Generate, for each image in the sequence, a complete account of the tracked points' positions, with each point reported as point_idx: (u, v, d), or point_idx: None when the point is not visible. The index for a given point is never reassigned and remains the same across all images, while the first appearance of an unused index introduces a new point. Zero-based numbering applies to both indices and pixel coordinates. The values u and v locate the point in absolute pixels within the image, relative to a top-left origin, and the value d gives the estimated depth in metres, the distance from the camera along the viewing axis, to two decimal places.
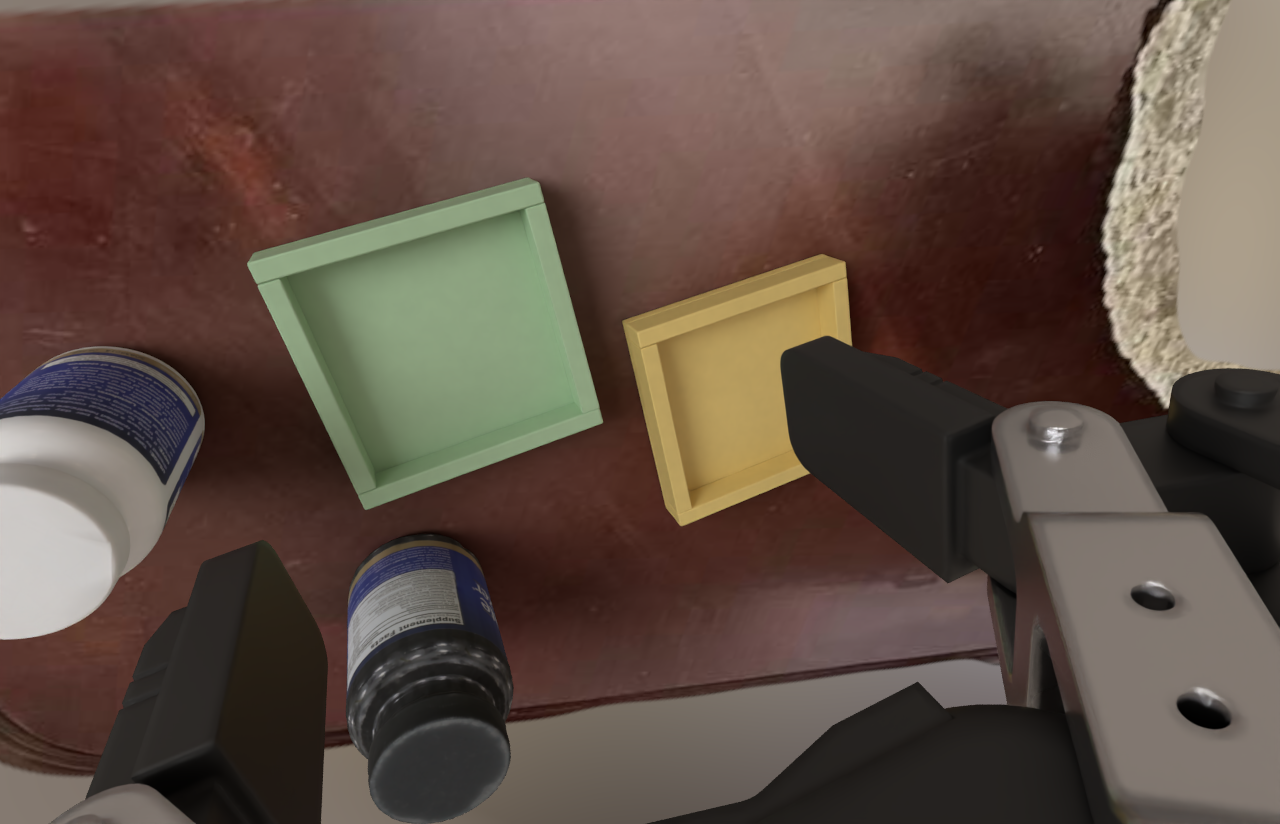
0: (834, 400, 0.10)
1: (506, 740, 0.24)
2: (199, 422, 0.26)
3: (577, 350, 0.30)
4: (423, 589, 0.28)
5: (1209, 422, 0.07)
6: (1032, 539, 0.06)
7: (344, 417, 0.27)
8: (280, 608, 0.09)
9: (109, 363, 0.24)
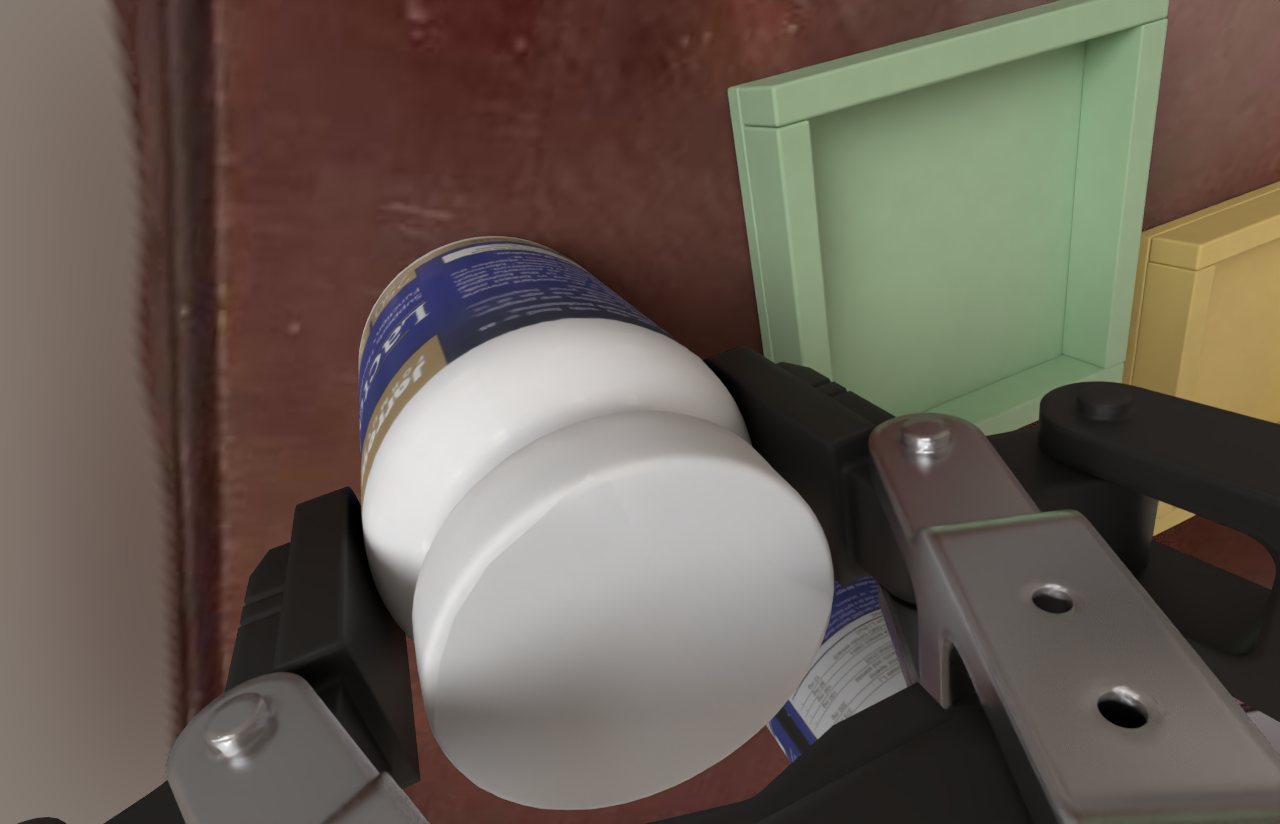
0: (743, 409, 0.10)
1: None
2: None
3: (1129, 269, 0.19)
4: None
5: (1068, 434, 0.07)
6: (932, 556, 0.06)
7: (830, 366, 0.17)
8: None
9: (552, 256, 0.13)
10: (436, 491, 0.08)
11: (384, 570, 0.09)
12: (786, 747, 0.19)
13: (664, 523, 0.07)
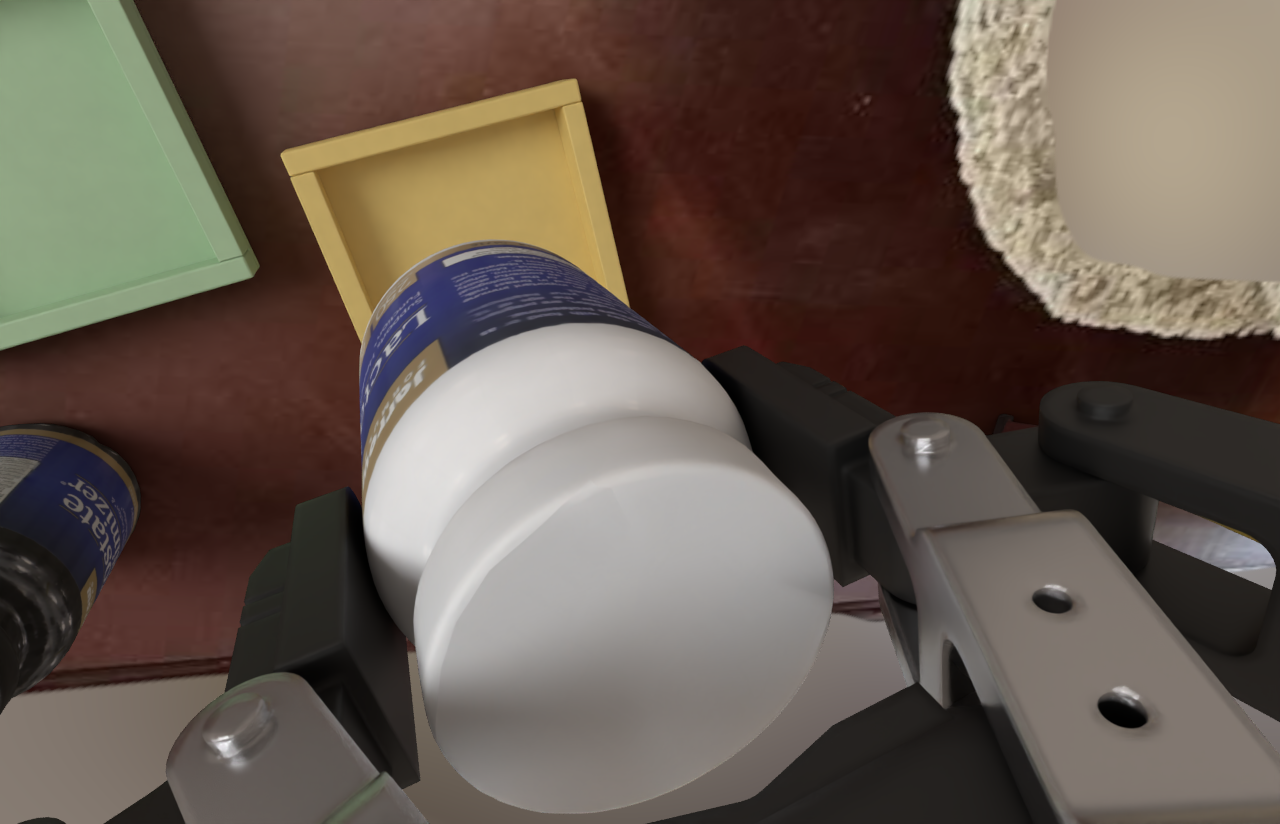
0: (744, 408, 0.10)
1: None
2: None
3: (191, 171, 0.23)
4: None
5: (1068, 433, 0.07)
6: (932, 555, 0.06)
7: None
8: None
9: (551, 260, 0.13)
10: (438, 496, 0.08)
11: (386, 574, 0.09)
12: None
13: (665, 530, 0.07)
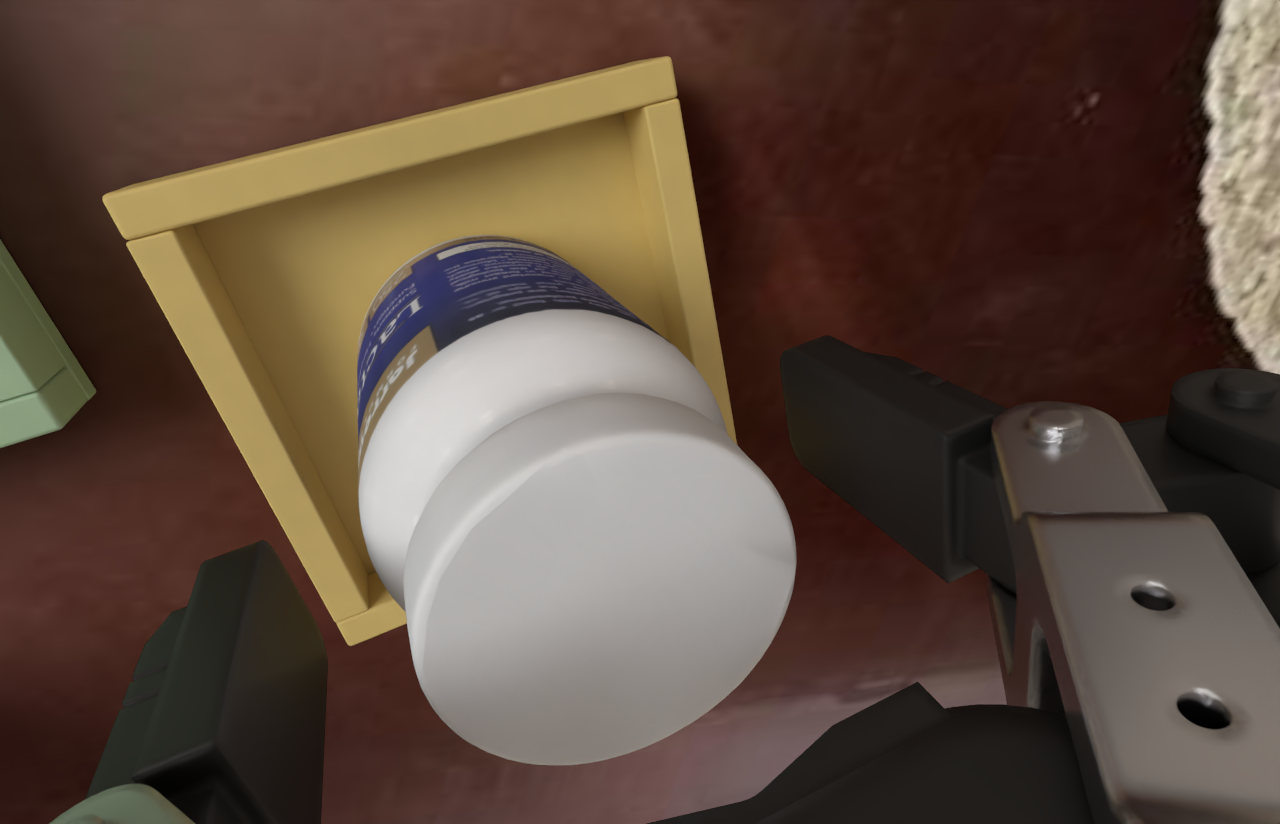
0: (834, 400, 0.10)
1: None
2: None
3: None
4: None
5: (1209, 422, 0.07)
6: (1034, 539, 0.06)
7: None
8: (280, 608, 0.09)
9: (541, 254, 0.14)
10: (427, 469, 0.09)
11: (379, 543, 0.09)
12: None
13: (634, 494, 0.07)
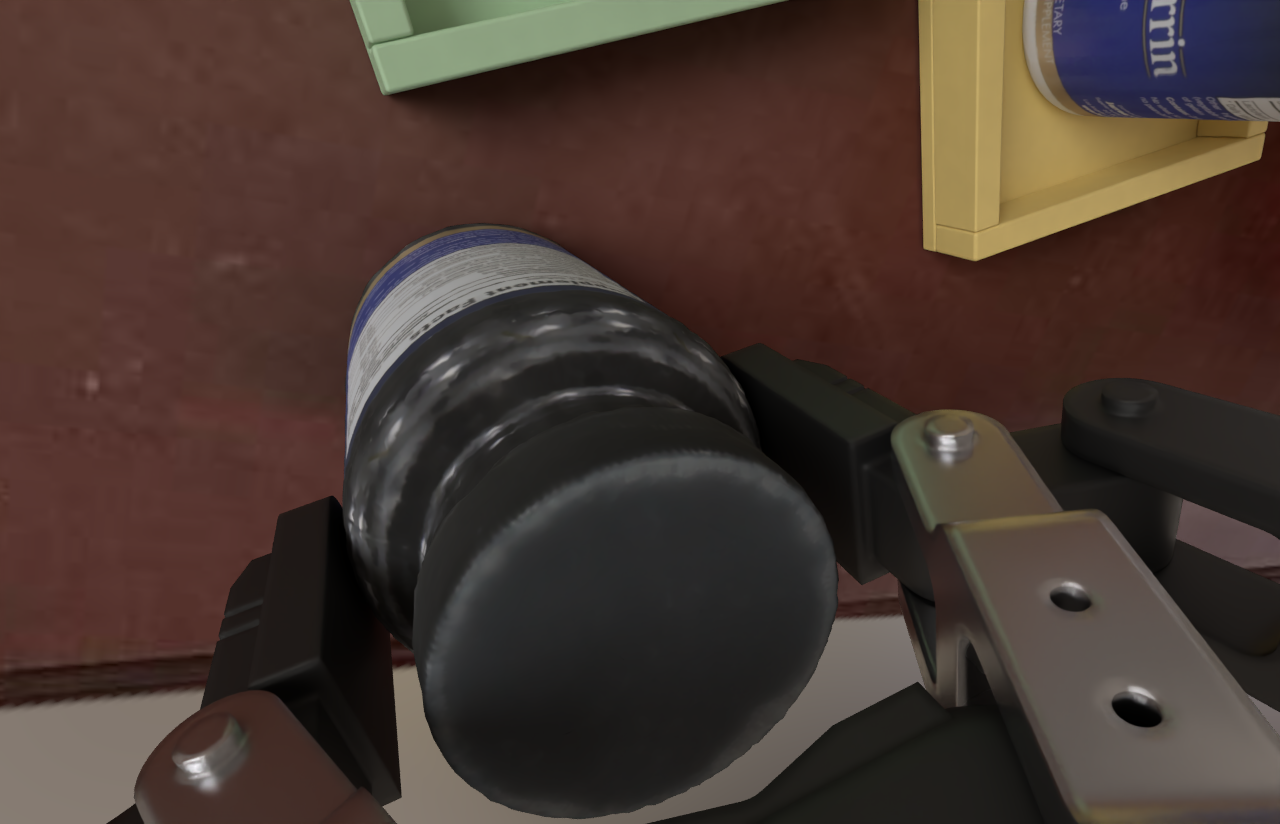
0: (760, 406, 0.10)
1: None
2: None
3: None
4: (530, 257, 0.12)
5: (1093, 430, 0.07)
6: (950, 551, 0.06)
7: None
8: None
9: None
10: None
11: None
12: None
13: None
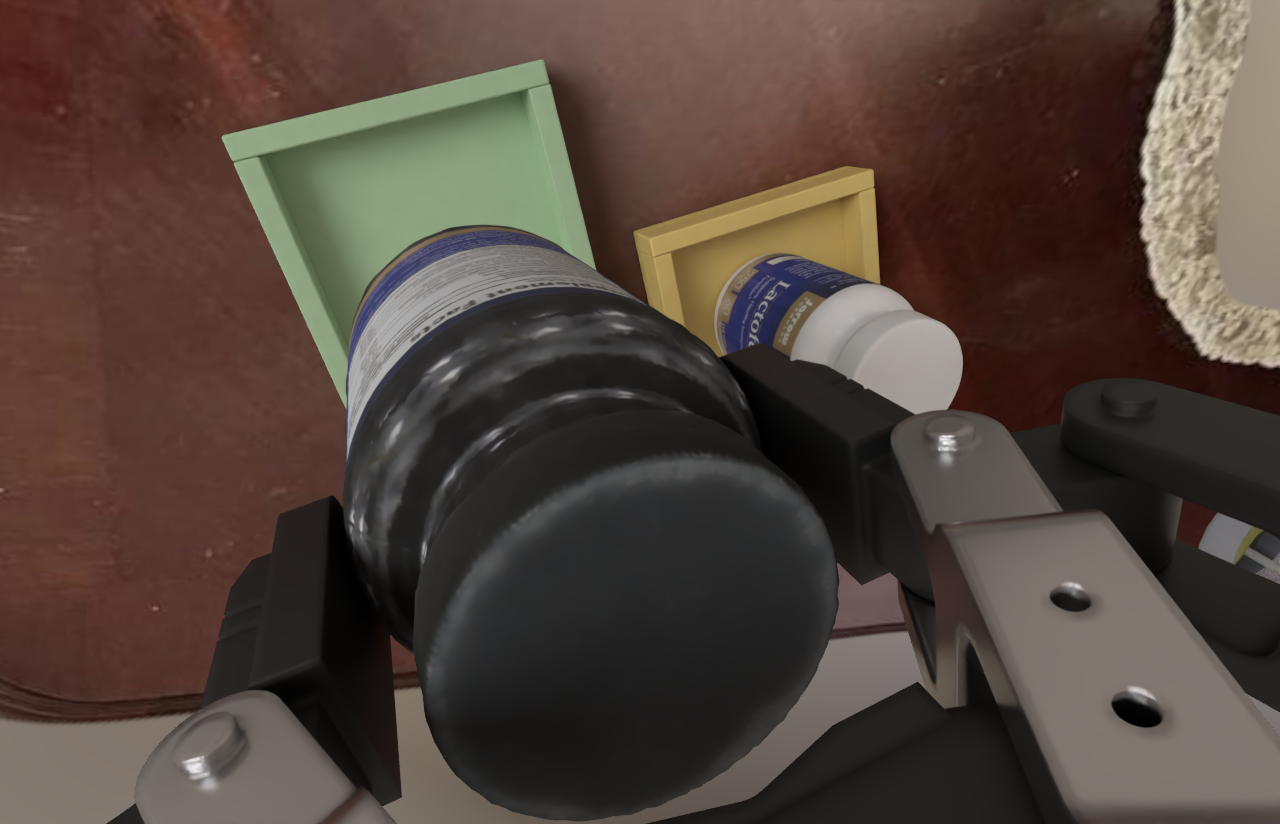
0: (760, 406, 0.10)
1: (836, 564, 0.08)
2: None
3: (585, 255, 0.27)
4: (530, 258, 0.12)
5: (1093, 430, 0.07)
6: (950, 551, 0.06)
7: (331, 321, 0.25)
8: None
9: None
10: (830, 339, 0.25)
11: None
12: None
13: (919, 339, 0.24)
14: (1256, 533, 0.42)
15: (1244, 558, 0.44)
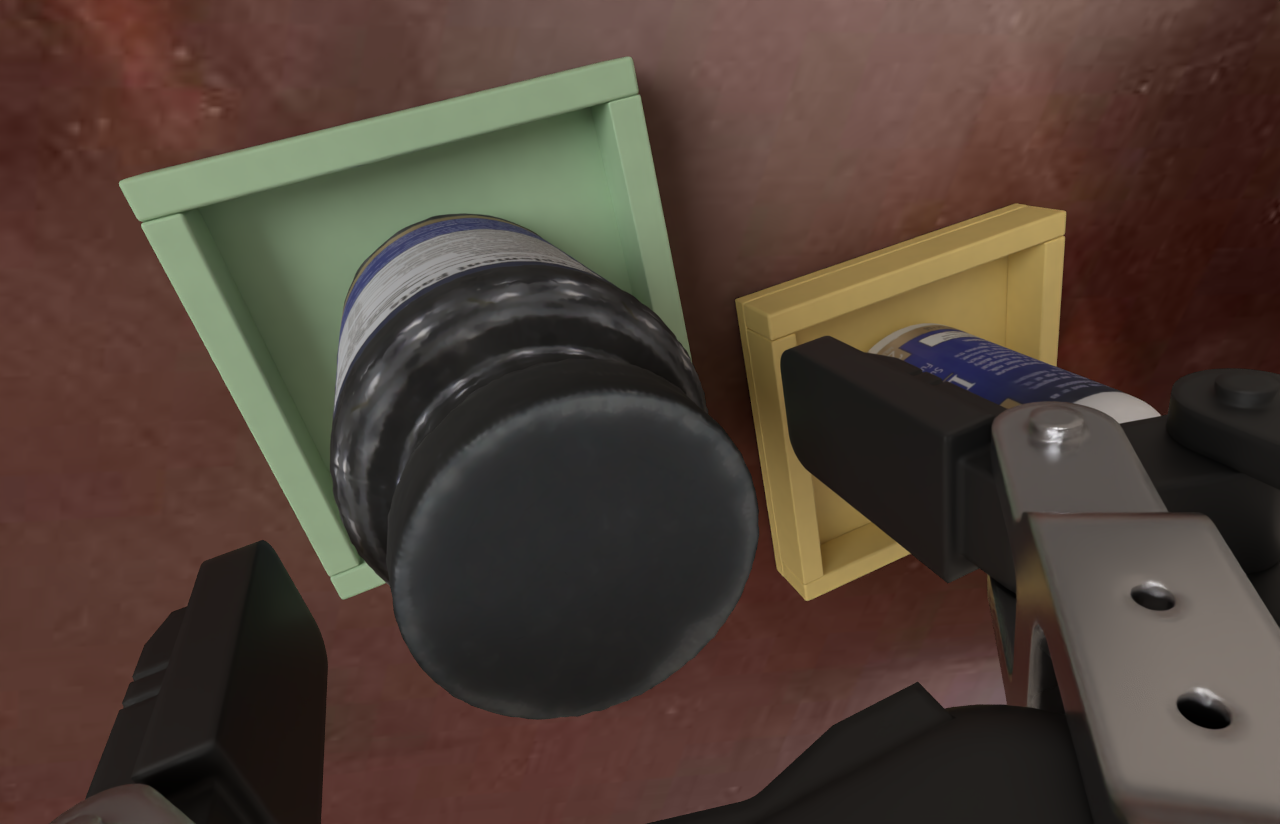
0: (834, 400, 0.10)
1: (755, 494, 0.09)
2: None
3: None
4: (502, 239, 0.13)
5: (1209, 422, 0.07)
6: (1032, 538, 0.06)
7: (304, 454, 0.16)
8: (280, 608, 0.09)
9: (986, 340, 0.22)
10: None
11: None
12: None
13: None
14: None
15: None
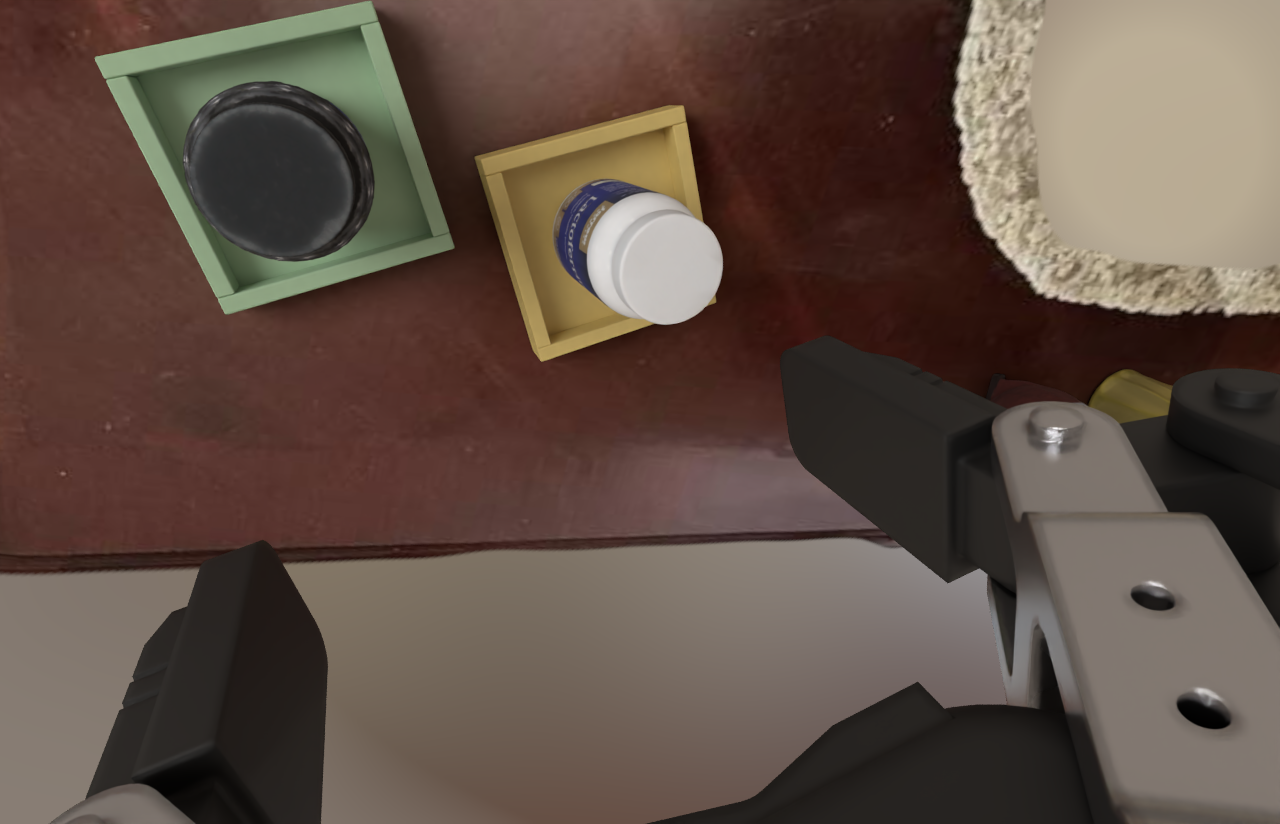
0: (833, 400, 0.10)
1: (347, 162, 0.23)
2: None
3: (422, 172, 0.32)
4: None
5: (1209, 422, 0.07)
6: (1033, 539, 0.06)
7: (199, 219, 0.30)
8: (280, 608, 0.09)
9: None
10: (614, 236, 0.30)
11: (596, 262, 0.31)
12: None
13: (677, 231, 0.29)
14: None
15: None
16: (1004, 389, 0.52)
